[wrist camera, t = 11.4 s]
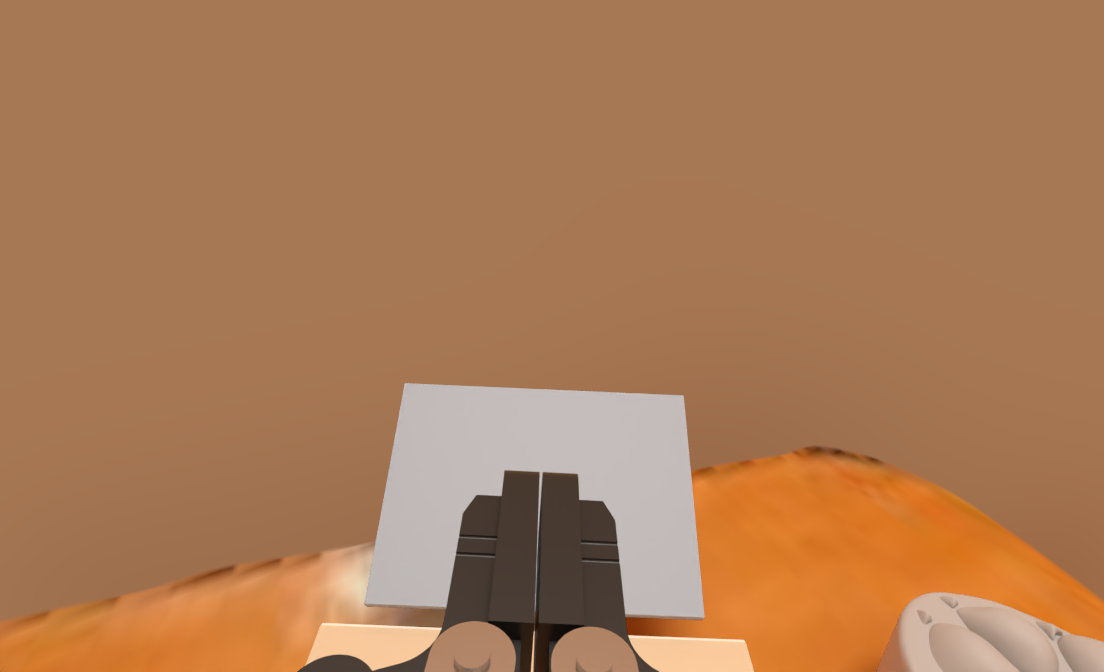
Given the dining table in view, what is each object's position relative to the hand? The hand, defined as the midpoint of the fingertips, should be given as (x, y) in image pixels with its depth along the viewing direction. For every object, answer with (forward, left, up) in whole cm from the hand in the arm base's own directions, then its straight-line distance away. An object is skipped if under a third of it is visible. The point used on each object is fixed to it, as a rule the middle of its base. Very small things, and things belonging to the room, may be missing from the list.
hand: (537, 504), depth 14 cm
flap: (0, +11, -17) cm, 21 cm away
